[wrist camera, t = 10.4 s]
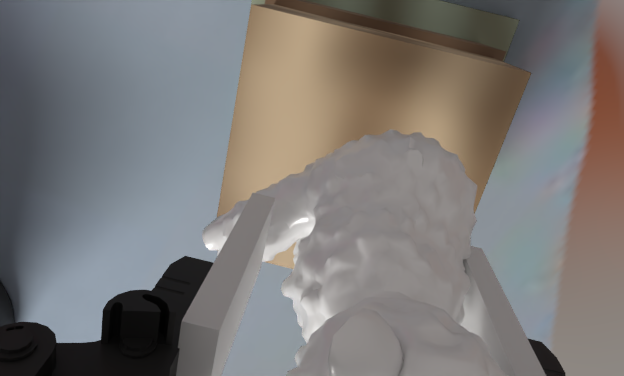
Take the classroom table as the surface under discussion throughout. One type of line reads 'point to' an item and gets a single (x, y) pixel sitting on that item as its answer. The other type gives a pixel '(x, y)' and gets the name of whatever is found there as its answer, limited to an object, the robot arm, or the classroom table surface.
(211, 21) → the classroom table surface
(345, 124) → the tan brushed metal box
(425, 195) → the seated beast figurine
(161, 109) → the classroom table surface
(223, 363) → the robot arm
